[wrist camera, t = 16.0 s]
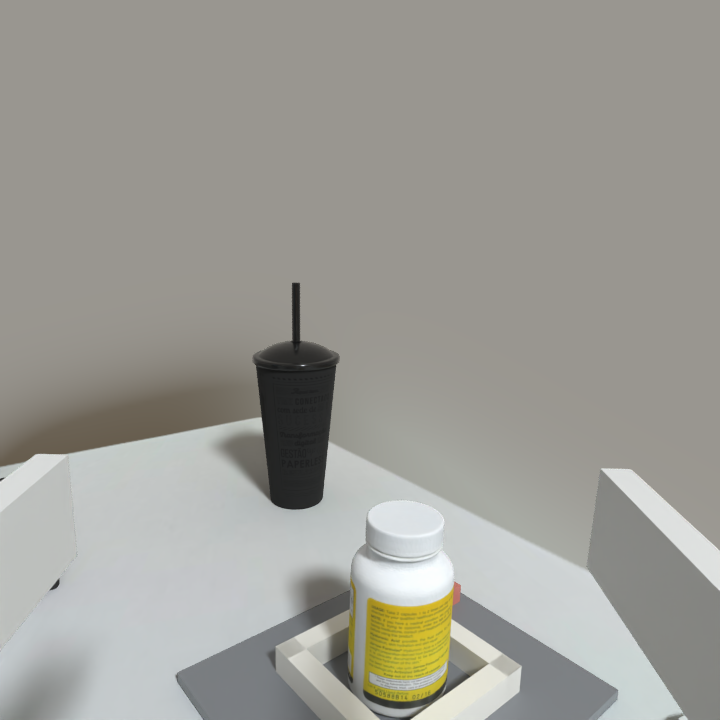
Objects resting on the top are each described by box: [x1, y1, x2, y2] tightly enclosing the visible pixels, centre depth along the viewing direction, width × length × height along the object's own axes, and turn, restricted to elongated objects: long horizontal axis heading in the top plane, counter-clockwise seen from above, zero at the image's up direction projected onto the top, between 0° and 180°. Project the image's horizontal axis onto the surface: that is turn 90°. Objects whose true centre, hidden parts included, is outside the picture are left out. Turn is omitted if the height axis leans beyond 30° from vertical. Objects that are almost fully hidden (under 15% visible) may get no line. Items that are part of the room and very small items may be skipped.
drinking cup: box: [253, 283, 340, 509], centre depth 53 cm, size 8×8×20 cm
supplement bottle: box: [348, 500, 454, 718], centre depth 31 cm, size 5×5×10 cm
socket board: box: [177, 582, 618, 720], centre depth 32 cm, size 16×18×2 cm
